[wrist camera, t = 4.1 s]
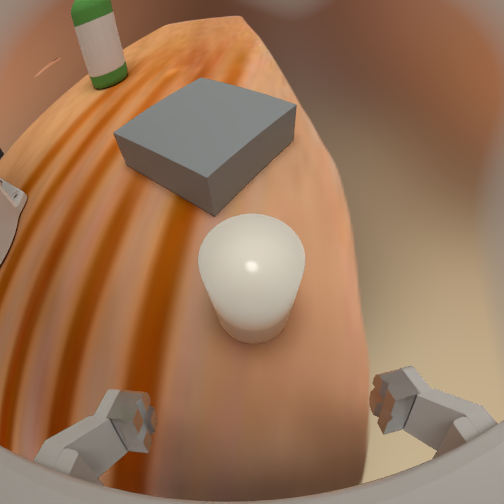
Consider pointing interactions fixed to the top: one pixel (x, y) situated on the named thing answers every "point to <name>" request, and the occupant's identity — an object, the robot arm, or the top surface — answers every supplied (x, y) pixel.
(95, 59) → the wine bottle
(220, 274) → the cylinder
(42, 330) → the top surface
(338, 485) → the top surface
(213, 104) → the plinth
